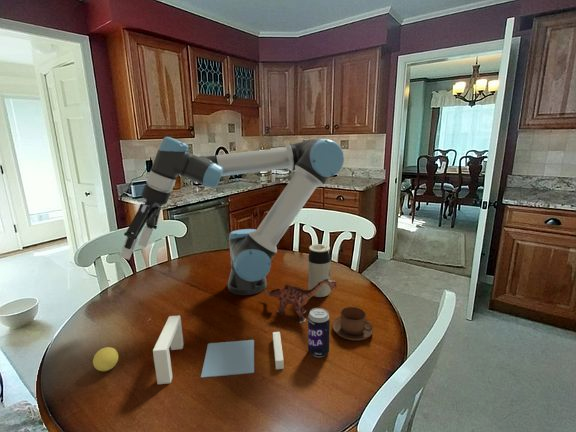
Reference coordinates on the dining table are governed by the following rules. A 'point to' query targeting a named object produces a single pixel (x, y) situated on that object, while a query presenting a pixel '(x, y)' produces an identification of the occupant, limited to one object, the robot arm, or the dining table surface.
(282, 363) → the stopper
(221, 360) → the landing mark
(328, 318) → the beverage can
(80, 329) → the dining table surface
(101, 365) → the ball
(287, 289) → the toy dinosaur
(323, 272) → the travel mug
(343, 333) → the cup and saucer
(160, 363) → the bridge
